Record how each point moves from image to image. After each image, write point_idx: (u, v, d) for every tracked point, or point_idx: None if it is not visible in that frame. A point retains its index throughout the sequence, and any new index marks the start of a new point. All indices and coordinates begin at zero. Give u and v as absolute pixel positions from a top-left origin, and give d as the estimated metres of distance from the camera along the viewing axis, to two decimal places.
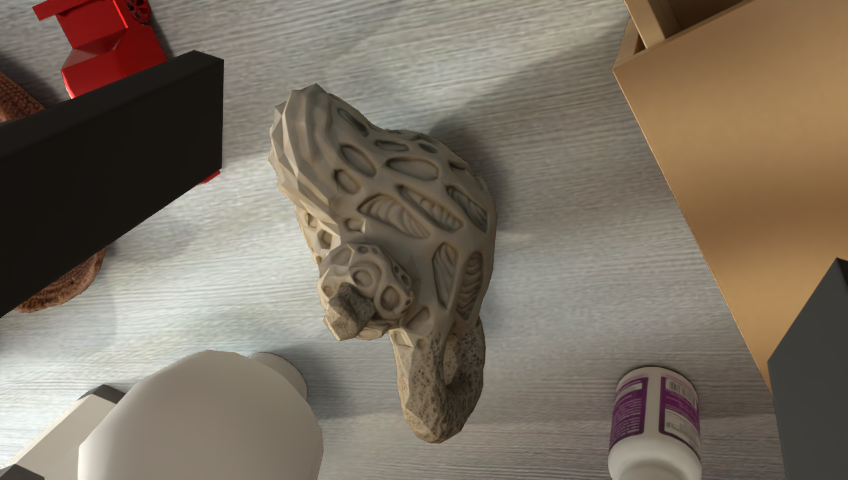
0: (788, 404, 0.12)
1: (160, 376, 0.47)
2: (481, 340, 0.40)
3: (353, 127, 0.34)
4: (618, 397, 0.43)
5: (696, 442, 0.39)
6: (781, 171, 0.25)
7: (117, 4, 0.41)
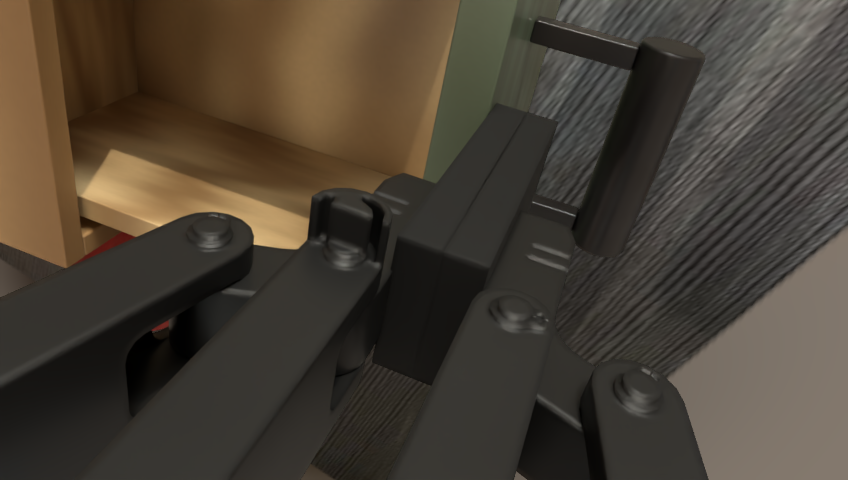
0: None
1: None
2: None
3: None
4: None
5: None
6: None
7: None
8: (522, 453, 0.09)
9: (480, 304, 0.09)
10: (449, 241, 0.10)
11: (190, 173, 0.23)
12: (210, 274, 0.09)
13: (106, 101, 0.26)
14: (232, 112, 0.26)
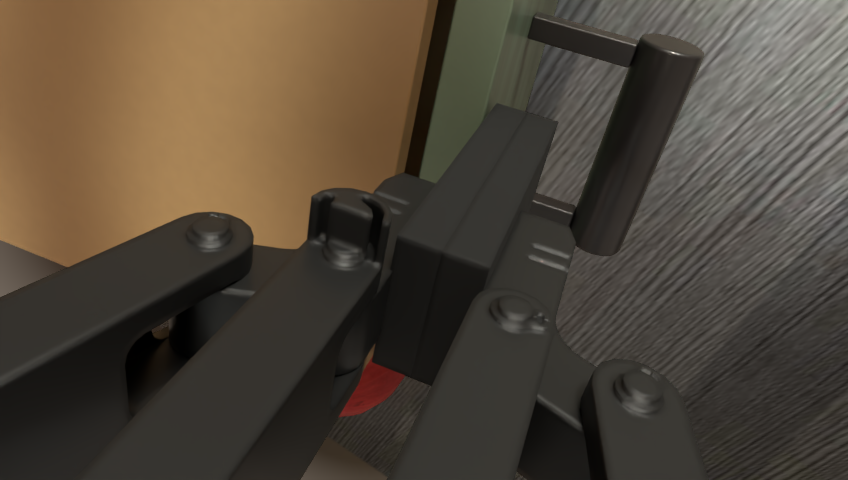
0: None
1: None
2: None
3: None
4: None
5: None
6: None
7: None
8: (522, 453, 0.09)
9: (480, 304, 0.09)
10: (449, 241, 0.10)
11: None
12: (210, 273, 0.09)
13: None
14: None
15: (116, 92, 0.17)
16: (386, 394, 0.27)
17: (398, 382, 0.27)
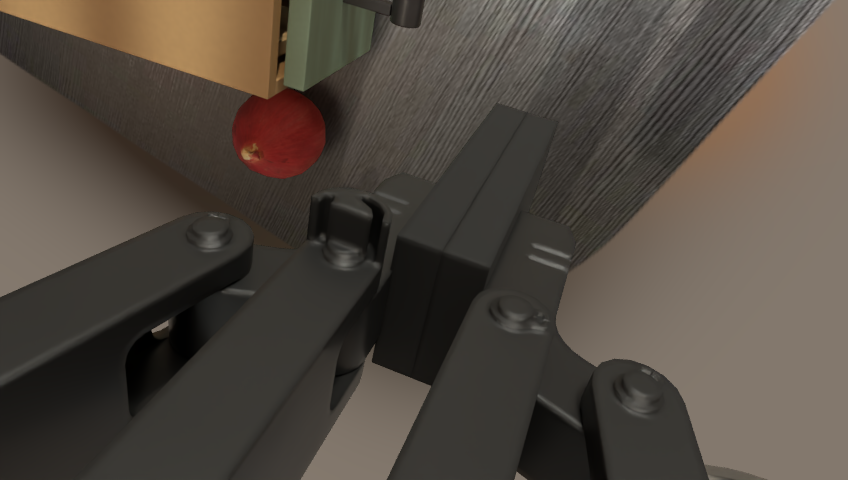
0: None
1: None
2: None
3: None
4: None
5: None
6: None
7: None
8: (522, 453, 0.09)
9: (480, 304, 0.09)
10: (448, 241, 0.10)
11: None
12: (210, 273, 0.09)
13: None
14: None
15: None
16: (304, 159, 0.41)
17: (312, 152, 0.42)
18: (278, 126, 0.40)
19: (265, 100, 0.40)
